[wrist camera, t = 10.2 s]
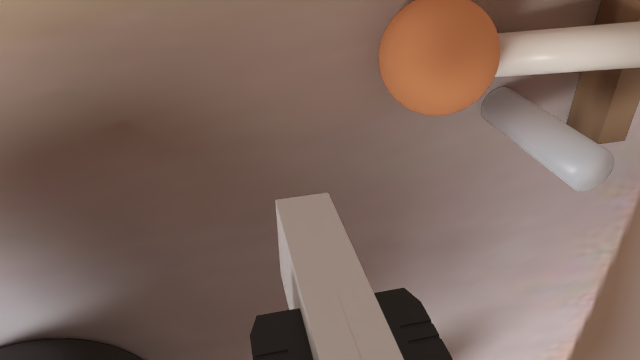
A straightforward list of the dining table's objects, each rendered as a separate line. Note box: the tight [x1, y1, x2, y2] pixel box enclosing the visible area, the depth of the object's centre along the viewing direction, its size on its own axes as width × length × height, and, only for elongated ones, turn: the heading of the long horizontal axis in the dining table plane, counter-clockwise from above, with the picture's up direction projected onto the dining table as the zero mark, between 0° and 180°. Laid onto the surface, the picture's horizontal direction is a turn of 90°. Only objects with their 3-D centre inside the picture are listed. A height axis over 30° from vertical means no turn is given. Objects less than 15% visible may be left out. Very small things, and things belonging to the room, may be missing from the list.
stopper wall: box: [567, 0, 640, 144], centre depth 29 cm, size 11×2×3 cm, turn 0°
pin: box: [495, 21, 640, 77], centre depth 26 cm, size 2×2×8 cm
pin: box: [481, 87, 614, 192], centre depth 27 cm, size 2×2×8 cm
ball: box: [379, 0, 500, 115], centre depth 25 cm, size 6×6×6 cm
